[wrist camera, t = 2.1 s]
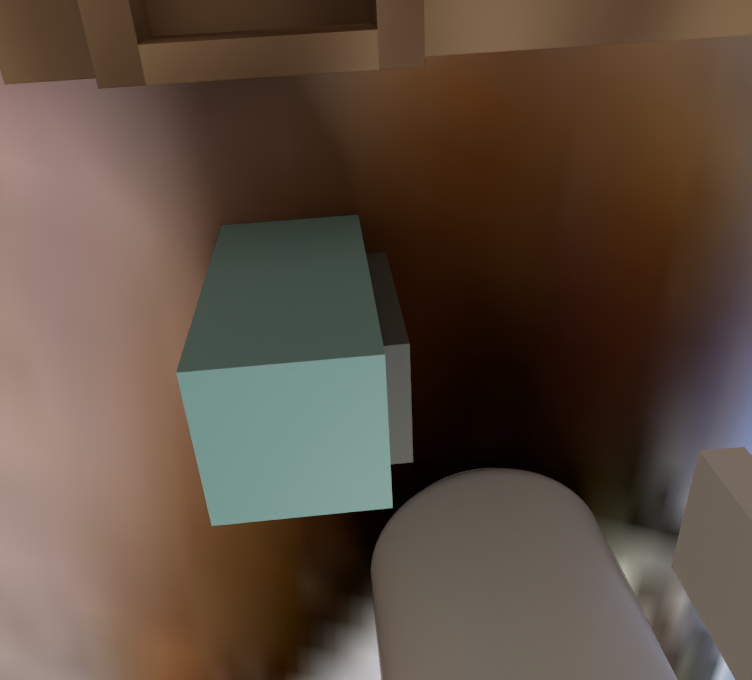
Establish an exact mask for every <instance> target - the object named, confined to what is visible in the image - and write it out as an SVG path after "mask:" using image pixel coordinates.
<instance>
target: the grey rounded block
mask: <svg viewBox="0 0 752 680" xmlns="http://www.w3.org/2000/svg"><path fill="white" fill-rule="evenodd" d="M371 586H372V595H373V605H374V615H375V624H376V634H377V644H378V653H379V663H380V672H381V680H678V679H677V677H676V675H675V673H674V671H673V669H672V667H671V665H670V663H669V661H668V659H667V657H666V655H665V653H664V651H663V649H662V647H661V645H660V644H659V642H658V640H657V638H656V636H655V634H654V632H653V630H652V628H651V626H650V624H649V622H648V620H647V618H646V616H645V614H644V612H643V610H642V608H641V606H640V604H639V602H638V600H637V598H636V596H635V594H634V592H633V590H632V588H631V586H630V584H629V582H628V581H627V579H626V577H625V575H624V573H623V571H622V569H621V567H620V565H619V563H618V561H617V559H616V557H615V555H614V553H613V551H612V549H611V547H610V545H609V543H608V541H607V539H606V537H605V535H604V533H603V531H602V529H601V527H600V525H599V523H598V521H597V520H596V518H595V516H594V515H593V513H592V511H591V510H590V508H589V507H588V506H587V505H586V503H585V502H584V501H583V500H582V499H581V498H580V497H579V496H578V495H577V494H576V493H574V492H573V491H572V490H570V489H569V488H568V487H566V486H564V485H563V484H561V483H559V482H558V481H556V480H554V479H551V478H549V477H547V476H544V475H541V474H538V473H534V472H530V471H526V470H519V469H509V468H481V469H474V470H468V471H464V472H460V473H456V474H453V475H450V476H448V477H445V478H443V479H441V480H439V481H437V482H435V483H433V484H431V485H429V486H428V487H426V488H425V489H423V490H422V491H420V492H419V493H417V494H416V495H414V496H413V497H412V498H410V499H409V500H408V501H407V502H406V503H404V504H403V505H402V506H401V507H400V508H399V509H398V510H397V511H396V512H395V513H394V514H393V516H392V517H391V518H390V519H389V521H388V522H387V524H386V525H385V527H384V528H383V530H382V532H381V534H380V536H379V538H378V540H377V543H376V545H375V548H374V552H373V556H372V561H371Z"/></svg>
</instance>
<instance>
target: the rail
mask: <svg viewBox="0 0 752 680" xmlns="http://www.w3.org/2000/svg"><path fill="white" fill-rule="evenodd" d="M742 35H752V0H0V70H1V73H2V77H3V80H4V83H5V84H16V83H31V82H46V81H61V80H76V79H92V78H96V80H97V85H98V89H99V88H114V87H129V86H144V85H159V84H173V83H188V82H203V81H218V80H233V79H248V78H263V77H278V76H293V75H308V74H323V73H338V72H353V71H368V70H383V69H398V68H413V67H425V56H440V55H455V54H470V53H485V52H500V51H515V50H530V49H546V48H561V47H576V46H591V45H606V44H621V43H636V42H652V41H667V40H682V39H697V38H712V37H727V36H742Z"/></svg>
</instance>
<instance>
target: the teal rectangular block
mask: <svg viewBox="0 0 752 680" xmlns="http://www.w3.org/2000/svg"><path fill="white" fill-rule="evenodd" d="M176 374H177V378H178V383H179V387H180V391H181V396H182V400H183V404H184V409H185V413H186V417H187V421H188V426H189V430H190V434H191V439H192V443H193V447H194V452H195V456H196V460H197V465H198V469H199V473H200V477H201V482H202V486H203V490H204V495H205V499H206V503H207V508H208V512H209V516H210V521H211V525H212V526H216V525H226V524H236V523H246V522H256V521H266V520H276V519H286V518H296V517H306V516H317V515H327V514H337V513H347V512H357V511H367V510H377V509H387V508H393V502H392V482H391V464H400V463H410V462H413V439H412V404H411V369H410V343H409V339H408V335H407V331H406V327H405V323H404V319H403V316H402V312H401V308H400V304H399V300H398V296H397V292H396V289H395V285H394V281H393V277H392V273H391V269H390V265H389V261H388V258H387V254H386V252H377V253H366V252H365V247H364V241H363V236H362V231H361V226H360V220H359V215H347V216H334V217H321V218H308V219H295V220H283V221H270V222H257V223H244V224H231V225H221V228H220V232H219V235H218V238H217V241H216V245H215V248H214V251H213V254H212V258H211V261H210V264H209V267H208V271H207V274H206V277H205V281H204V284H203V287H202V290H201V294H200V297H199V300H198V303H197V307H196V310H195V313H194V316H193V320H192V323H191V326H190V329H189V333H188V336H187V339H186V342H185V346H184V349H183V352H182V355H181V359H180V362H179V365H178V368H177V372H176Z"/></svg>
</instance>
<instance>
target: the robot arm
mask: <svg viewBox="0 0 752 680" xmlns="http://www.w3.org/2000/svg"><path fill="white" fill-rule="evenodd" d="M672 568H673V570H674V572H675V573H676V575H677V577H678V579H679V580H680V582H681V584H682V586H683V587H684V589H685V591H686V593H687V595H688V596H689V598H690V600H691V602H692V603H693V605H694V607H695V609H696V610H697V612H698V614H699V616H700V618H701V619H702V621H703V623H704V625H705V626H706V628H707V630H708V632H709V633H710V635H711V637H712V639H713V641H714V642H715V644H716V646H717V648H718V649H719V651H720V653H721V655H722V657H723V658H724V660H725V662H726V664H727V665H728V667H729V669H730V671H731V672H732V674H733V676H734V678H735V680H752V455H751V454H750V453H749V452H748V451H747V449H746V448H745V447H739V448H727V449H716V450H704V451H699V455H698V459H697V463H696V467H695V471H694V475H693V480H692V484H691V488H690V492H689V496H688V500H687V504H686V508H685V513H684V517H683V521H682V525H681V529H680V533H679V537H678V541H677V546H676V550H675V554H674V558H673V562H672Z"/></svg>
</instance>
